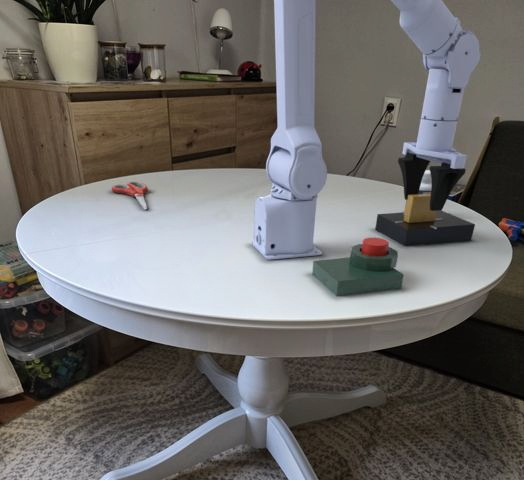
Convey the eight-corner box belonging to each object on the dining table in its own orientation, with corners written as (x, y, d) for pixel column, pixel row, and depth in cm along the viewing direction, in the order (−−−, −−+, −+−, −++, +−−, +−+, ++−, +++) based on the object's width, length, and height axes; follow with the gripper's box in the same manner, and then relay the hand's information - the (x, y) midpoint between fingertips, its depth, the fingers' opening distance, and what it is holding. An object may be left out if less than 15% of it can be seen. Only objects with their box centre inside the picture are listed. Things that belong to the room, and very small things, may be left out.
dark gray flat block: (407, 248, 83) (410, 230, 81) (375, 229, 91) (377, 213, 90) (474, 242, 87) (478, 224, 85) (437, 225, 96) (440, 209, 94)
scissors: (144, 210, 98) (143, 203, 97) (108, 190, 113) (107, 183, 112) (178, 206, 102) (177, 199, 101) (139, 186, 117) (138, 180, 116)
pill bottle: (398, 213, 103) (406, 169, 98) (419, 211, 104) (427, 168, 100) (413, 220, 98) (422, 174, 94) (434, 218, 100) (444, 173, 95)
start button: (369, 258, 67) (371, 246, 66) (356, 250, 70) (358, 238, 69) (391, 256, 68) (393, 244, 67) (378, 248, 71) (380, 236, 70)
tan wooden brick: (408, 223, 85) (413, 195, 83) (403, 220, 86) (408, 193, 84) (434, 221, 87) (440, 194, 84) (429, 218, 88) (435, 192, 86)
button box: (336, 296, 64) (339, 268, 62) (311, 274, 71) (313, 247, 69) (408, 288, 68) (414, 260, 66) (378, 267, 74) (382, 242, 72)
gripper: (490, 124, 73) (468, 213, 80) (432, 115, 85) (417, 193, 92) (452, 124, 71) (433, 216, 78) (398, 115, 83) (385, 195, 90)
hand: (422, 204), depth 85 cm, fingers open, 7 cm apart
